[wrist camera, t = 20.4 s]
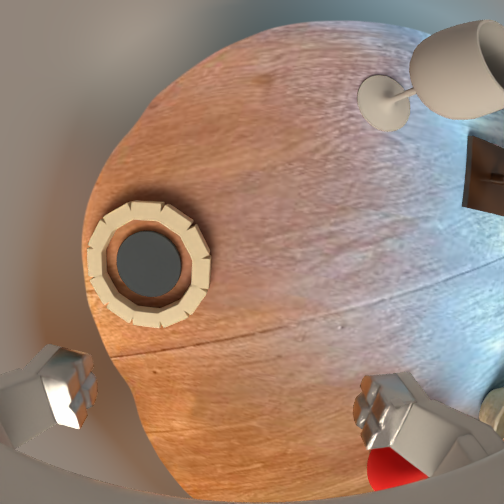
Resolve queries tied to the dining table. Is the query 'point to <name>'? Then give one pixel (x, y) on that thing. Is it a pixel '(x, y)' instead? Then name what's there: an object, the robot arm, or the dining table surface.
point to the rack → (484, 177)
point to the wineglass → (443, 78)
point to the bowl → (494, 411)
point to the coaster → (149, 263)
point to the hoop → (192, 243)
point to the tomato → (390, 469)
